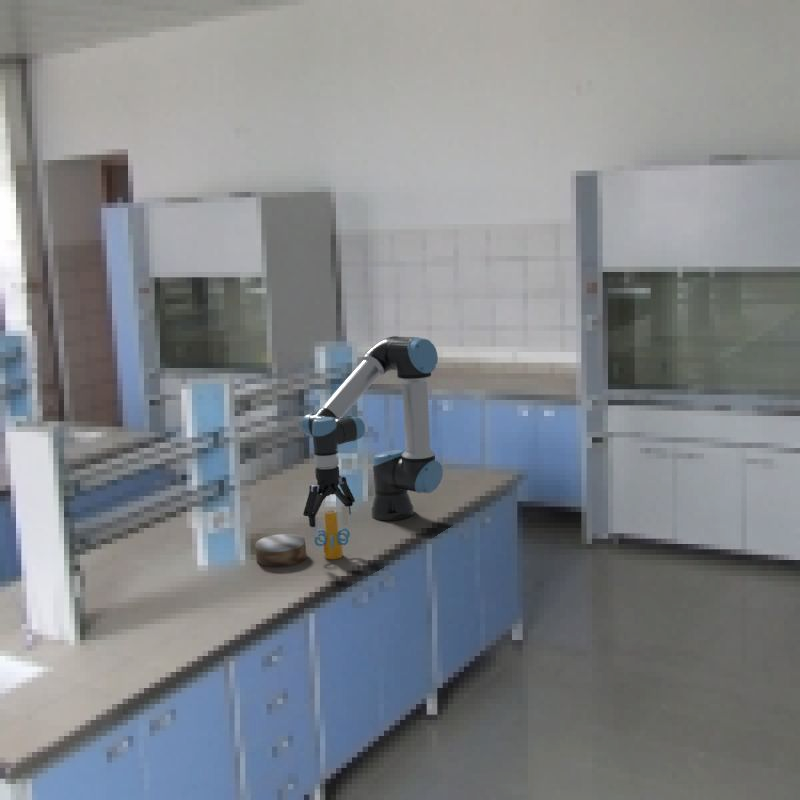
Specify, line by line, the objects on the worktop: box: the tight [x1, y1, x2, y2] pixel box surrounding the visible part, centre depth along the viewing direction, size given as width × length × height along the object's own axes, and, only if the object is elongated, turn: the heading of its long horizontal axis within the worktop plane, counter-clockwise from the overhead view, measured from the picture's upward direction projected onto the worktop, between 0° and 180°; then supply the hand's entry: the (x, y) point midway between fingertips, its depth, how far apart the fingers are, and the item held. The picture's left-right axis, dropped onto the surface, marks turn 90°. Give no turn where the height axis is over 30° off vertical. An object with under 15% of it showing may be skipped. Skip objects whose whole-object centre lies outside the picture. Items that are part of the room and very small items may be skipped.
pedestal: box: [254, 533, 307, 568], centre depth 348 cm, size 16×16×6 cm
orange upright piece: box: [313, 509, 351, 560], centre depth 346 cm, size 12×10×15 cm
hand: (331, 530), depth 346 cm, fingers open, 13 cm apart
